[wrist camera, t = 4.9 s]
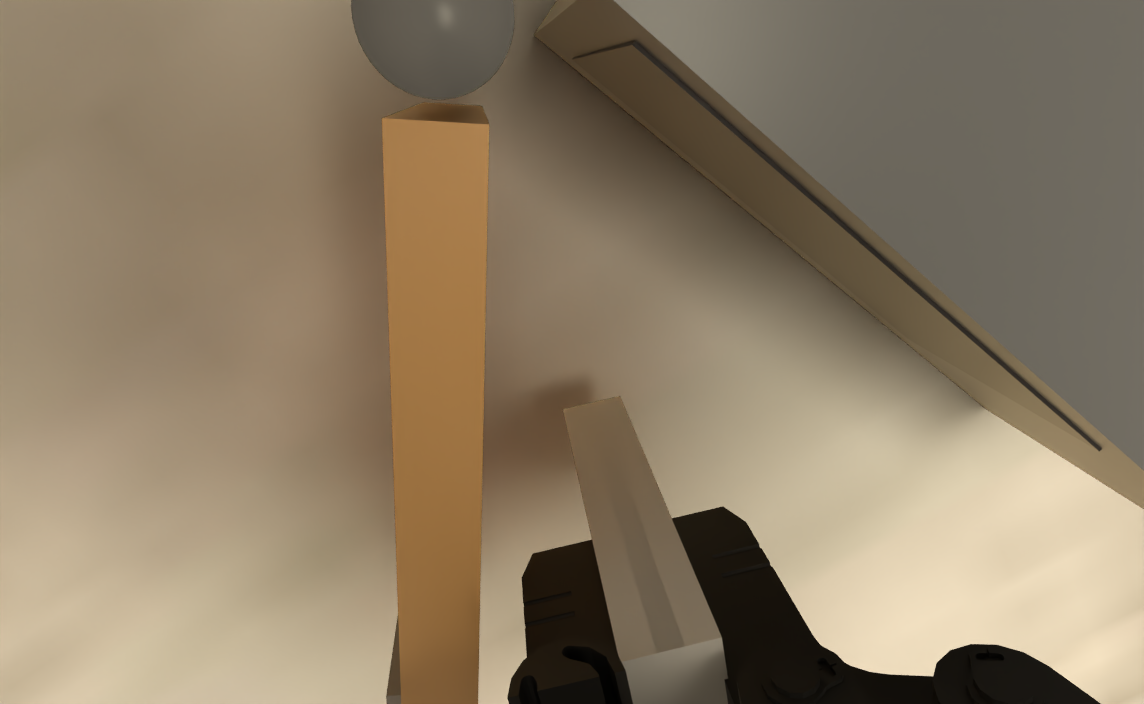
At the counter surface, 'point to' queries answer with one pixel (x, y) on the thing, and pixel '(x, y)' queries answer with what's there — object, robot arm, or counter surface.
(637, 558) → the robot arm
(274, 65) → the counter surface
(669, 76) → the camera body
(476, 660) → the side door
